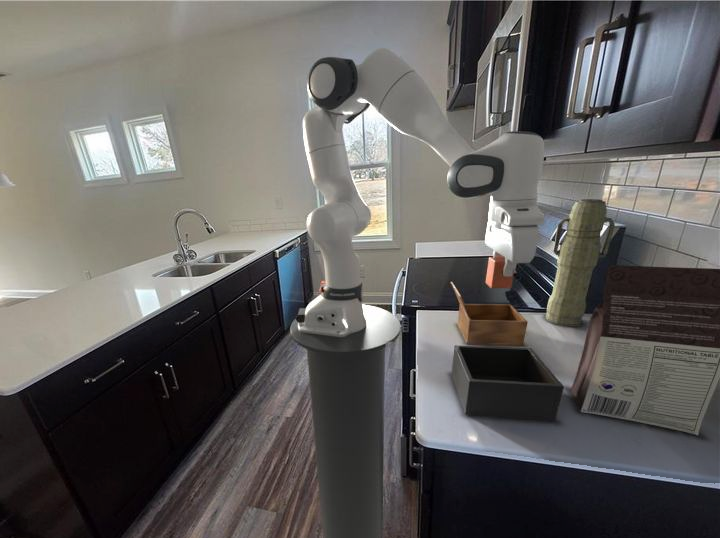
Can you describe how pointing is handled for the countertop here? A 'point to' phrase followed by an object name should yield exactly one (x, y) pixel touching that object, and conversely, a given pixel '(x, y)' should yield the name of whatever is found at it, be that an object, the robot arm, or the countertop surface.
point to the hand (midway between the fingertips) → (502, 272)
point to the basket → (505, 383)
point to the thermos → (577, 260)
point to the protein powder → (653, 347)
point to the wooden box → (492, 324)
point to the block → (497, 274)
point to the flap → (460, 300)
